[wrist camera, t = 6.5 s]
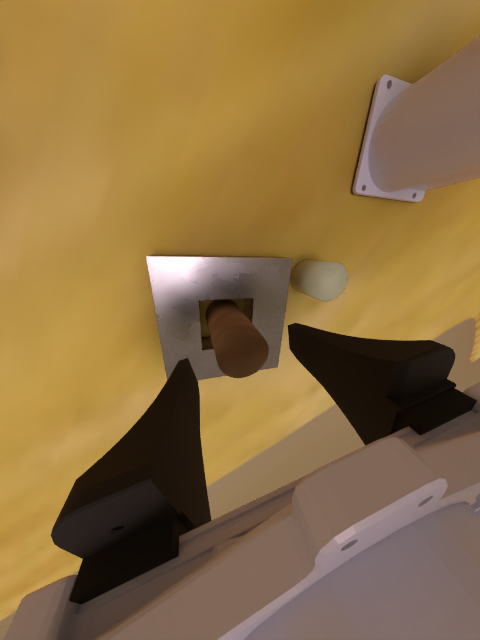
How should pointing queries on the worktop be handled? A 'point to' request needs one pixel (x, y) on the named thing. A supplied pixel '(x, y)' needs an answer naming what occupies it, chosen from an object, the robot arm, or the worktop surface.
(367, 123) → the robot arm
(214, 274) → the collar plate
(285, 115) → the worktop surface
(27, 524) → the worktop surface
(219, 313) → the walnut dowel
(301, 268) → the pale cream cylinder
